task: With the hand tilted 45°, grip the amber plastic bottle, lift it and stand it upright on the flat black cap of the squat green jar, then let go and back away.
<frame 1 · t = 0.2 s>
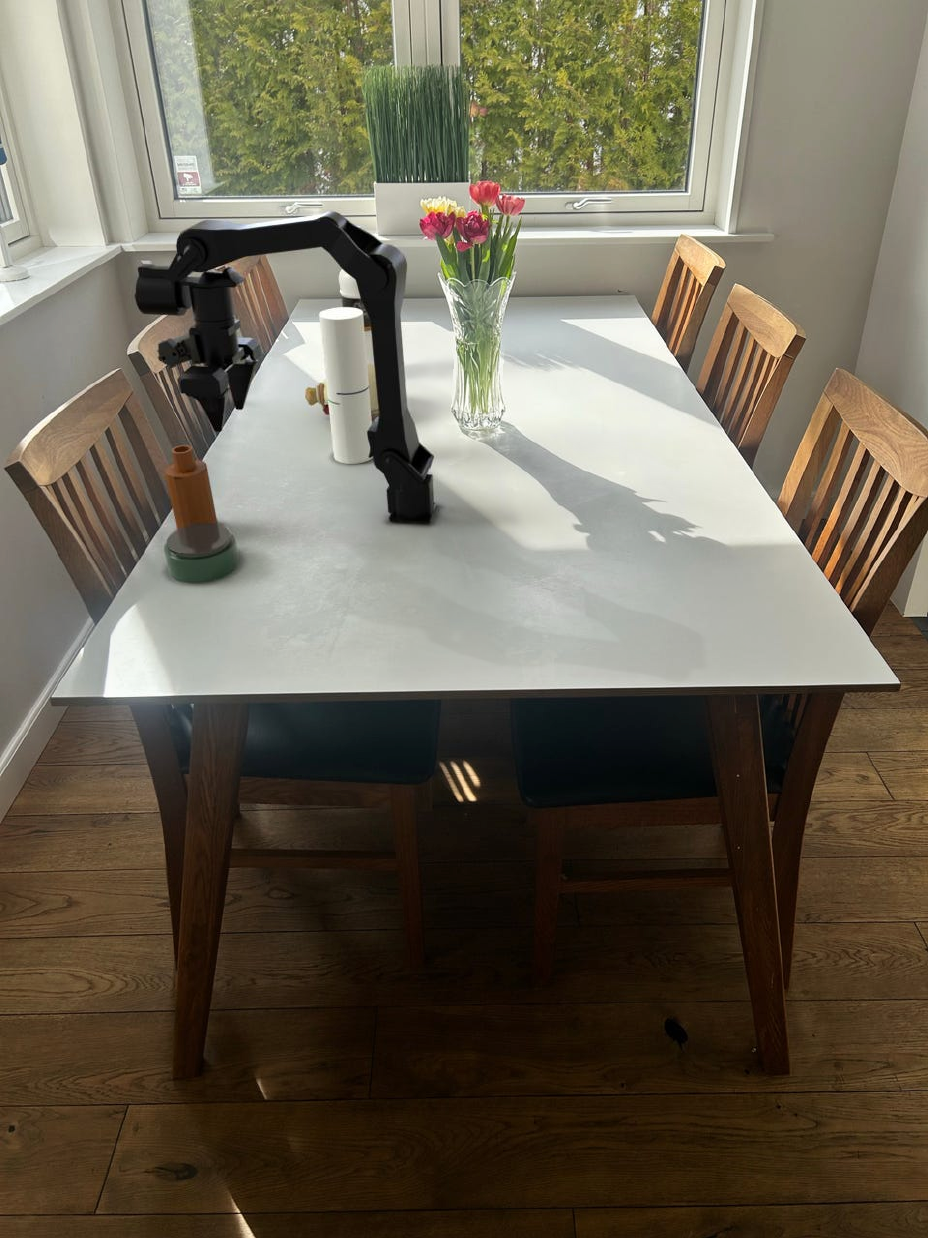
hand: (229, 420, 144), 15 cm above the table, tool pointing down, fingers open, 9 cm apart
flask: (354, 415, 184), on the table
amber bottle: (198, 530, 146), on the table
cylindrical container: (354, 456, 168), on the table
green jar: (204, 565, 137), on the table
vodka: (367, 374, 204), on the table
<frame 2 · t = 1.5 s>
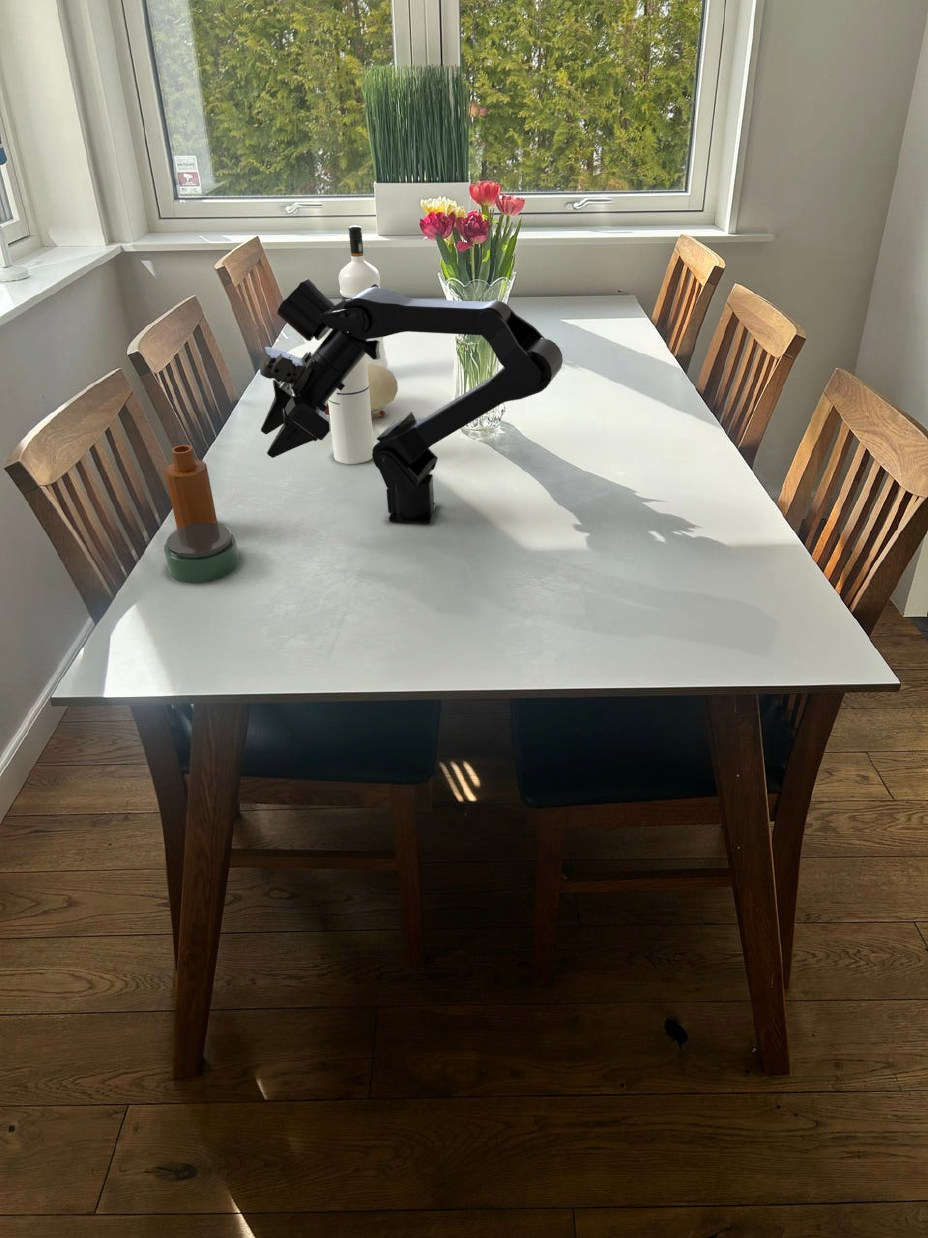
hand: (266, 443, 141), 13 cm above the table, tool tilted 45°, fingers open, 9 cm apart
nothing on the table moved.
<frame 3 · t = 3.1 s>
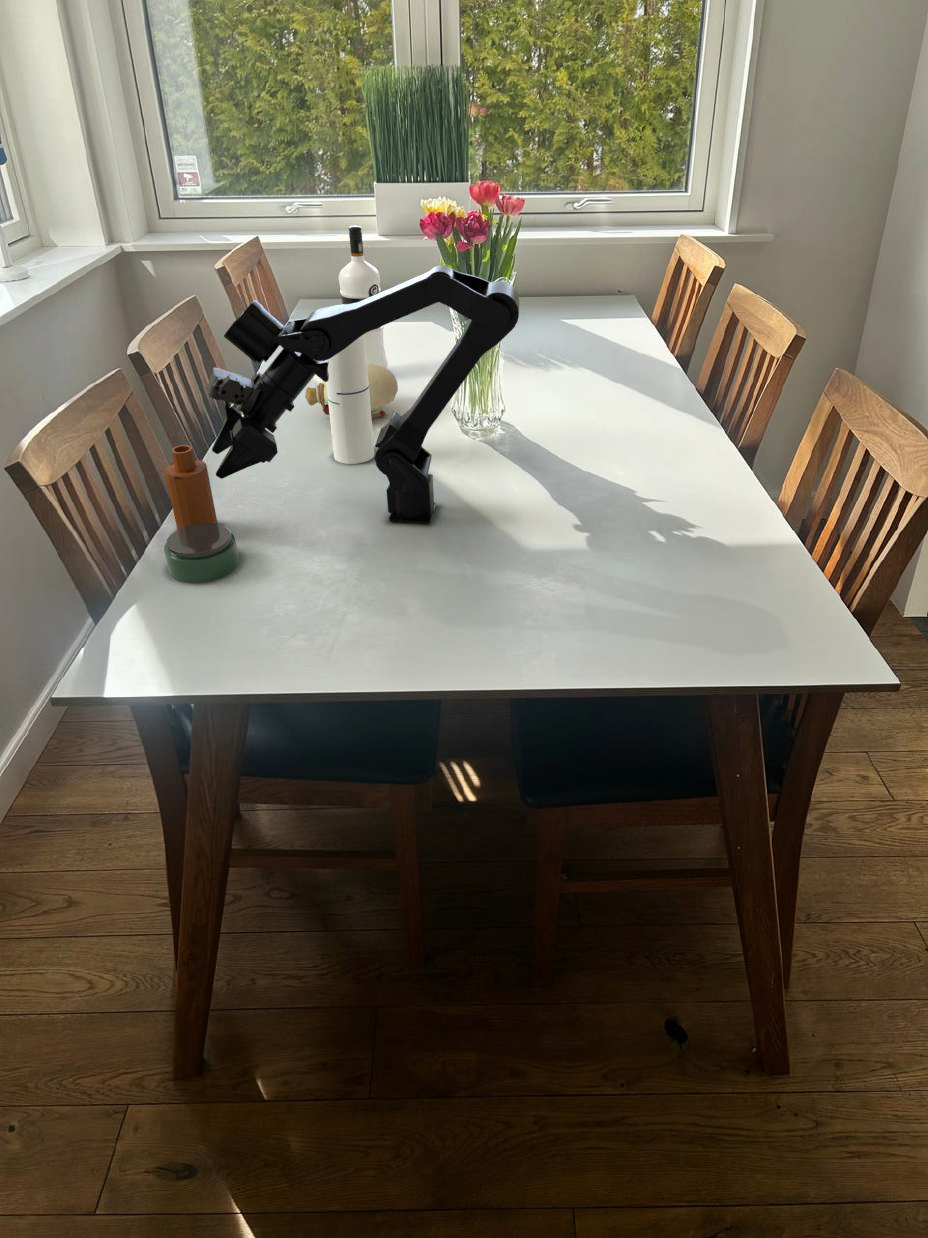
hand: (216, 464, 141), 10 cm above the table, tool tilted 45°, fingers open, 9 cm apart
nothing on the table moved.
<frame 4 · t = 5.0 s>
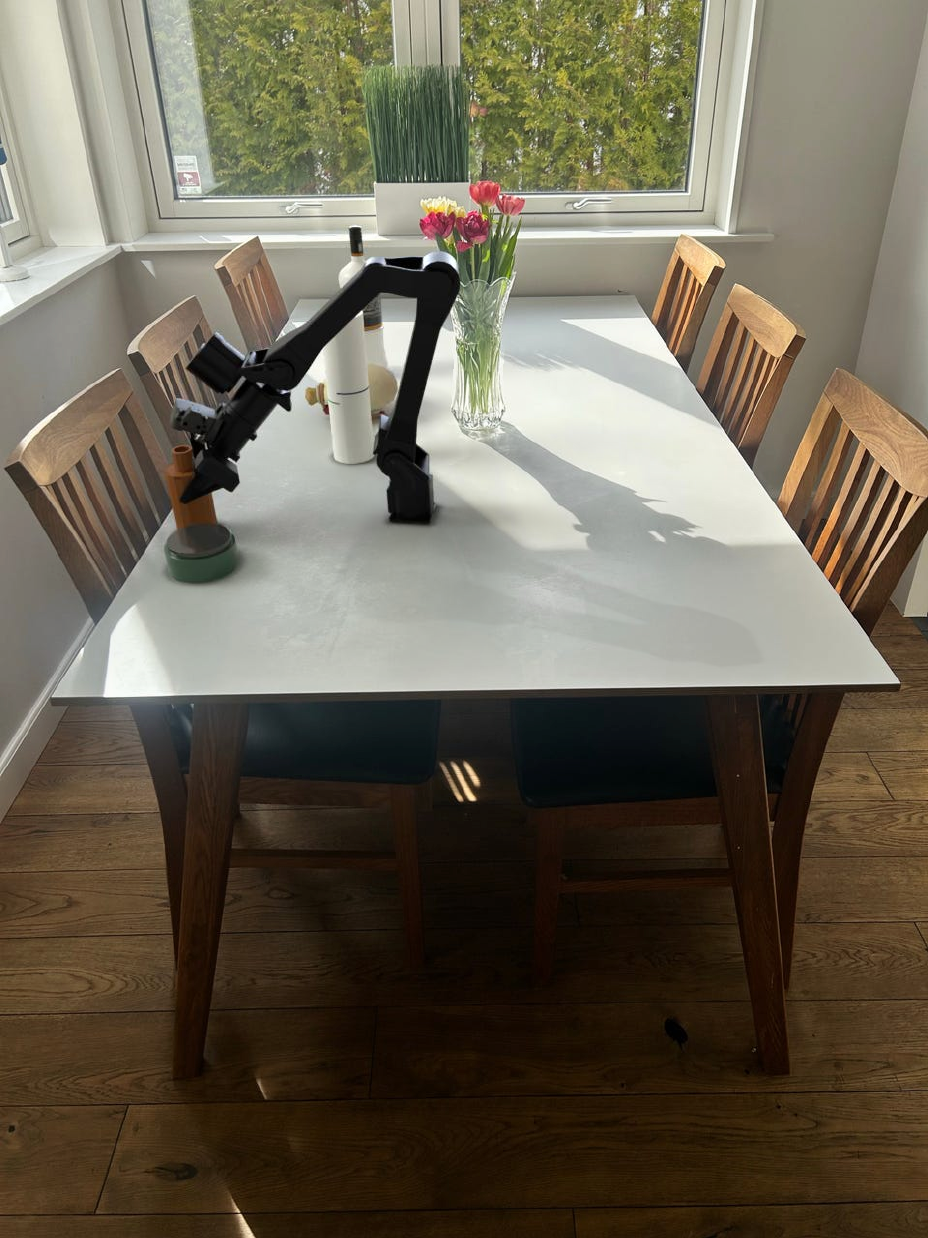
hand: (181, 492, 142), 7 cm above the table, tool tilted 45°, fingers closed on amber bottle, 6 cm apart
amber bottle: (198, 530, 146), on the table, touching gripper
everything else where it was.
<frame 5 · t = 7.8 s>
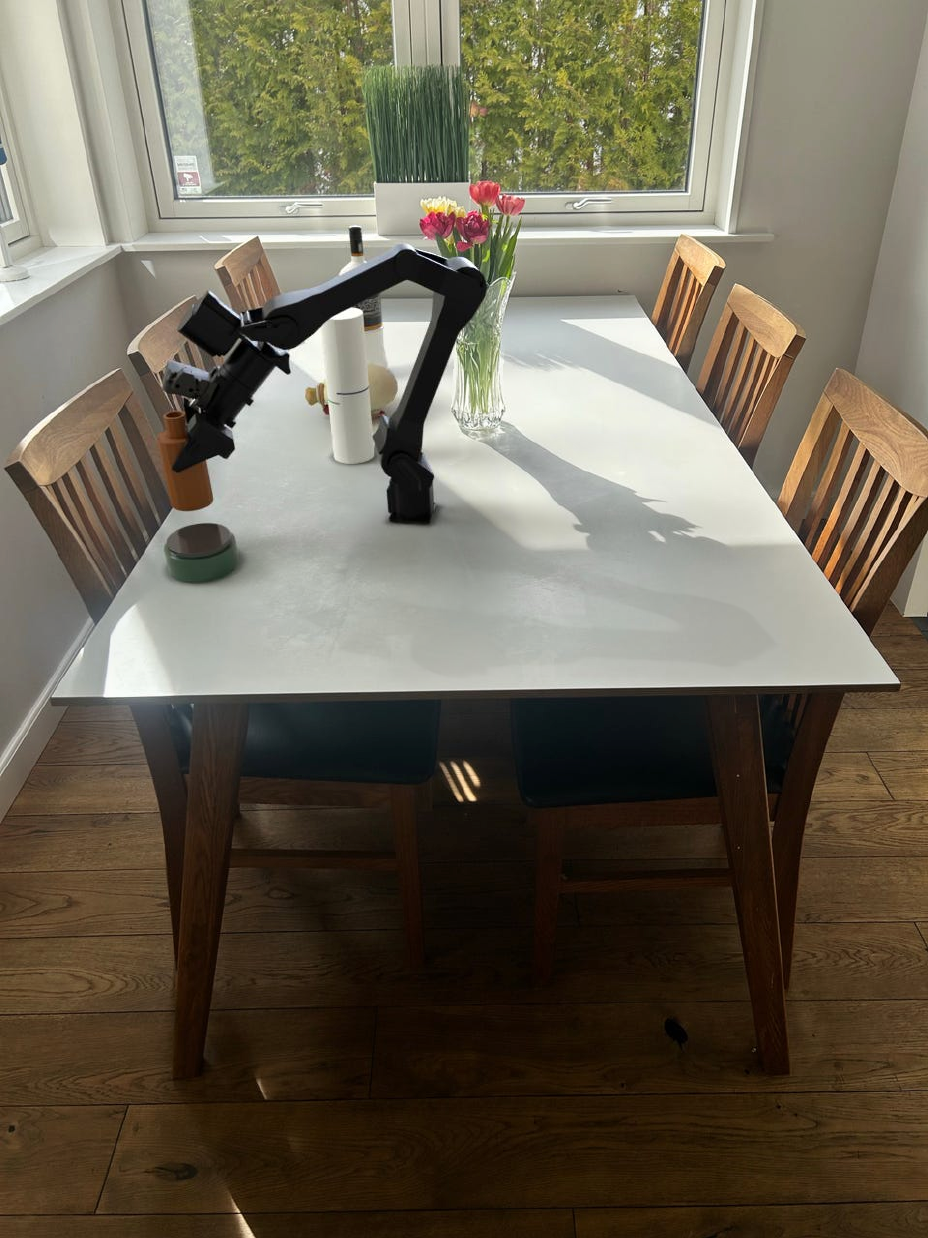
hand: (174, 461, 135), 13 cm above the table, tool tilted 45°, fingers closed on amber bottle, 6 cm apart
amber bottle: (192, 501, 139), point 7 cm above the table, touching gripper
everything else where it was.
when the fingers open (11 cm above the table, at t = 10.5 s): amber bottle stays where it is, resting on green jar.
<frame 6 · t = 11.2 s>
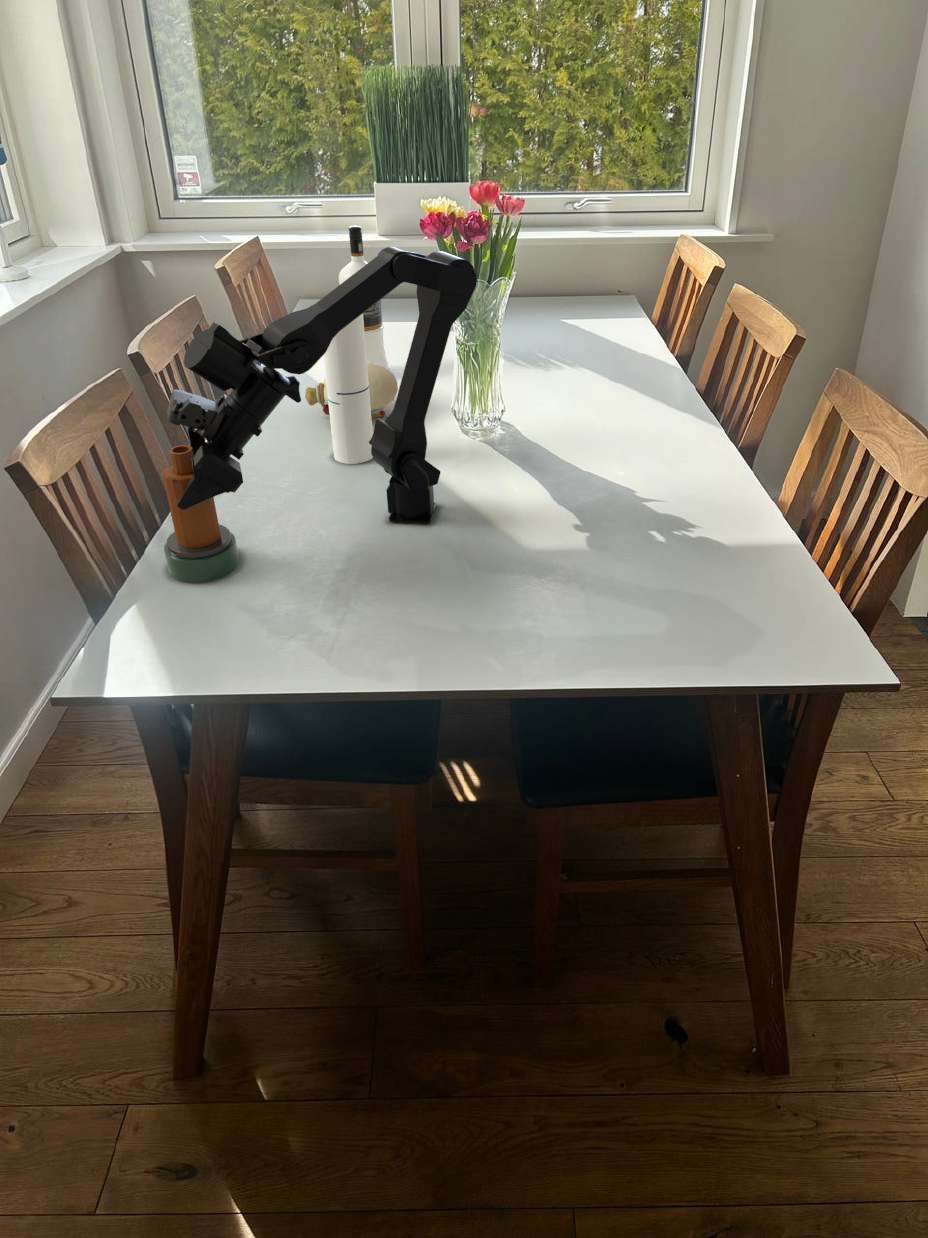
hand: (178, 493, 130), 12 cm above the table, tool tilted 45°, fingers open, 9 cm apart
amber bottle: (198, 537, 134), point 4 cm above the table, touching green jar
green jar: (204, 565, 137), on the table, touching amber bottle
everything else where it was.
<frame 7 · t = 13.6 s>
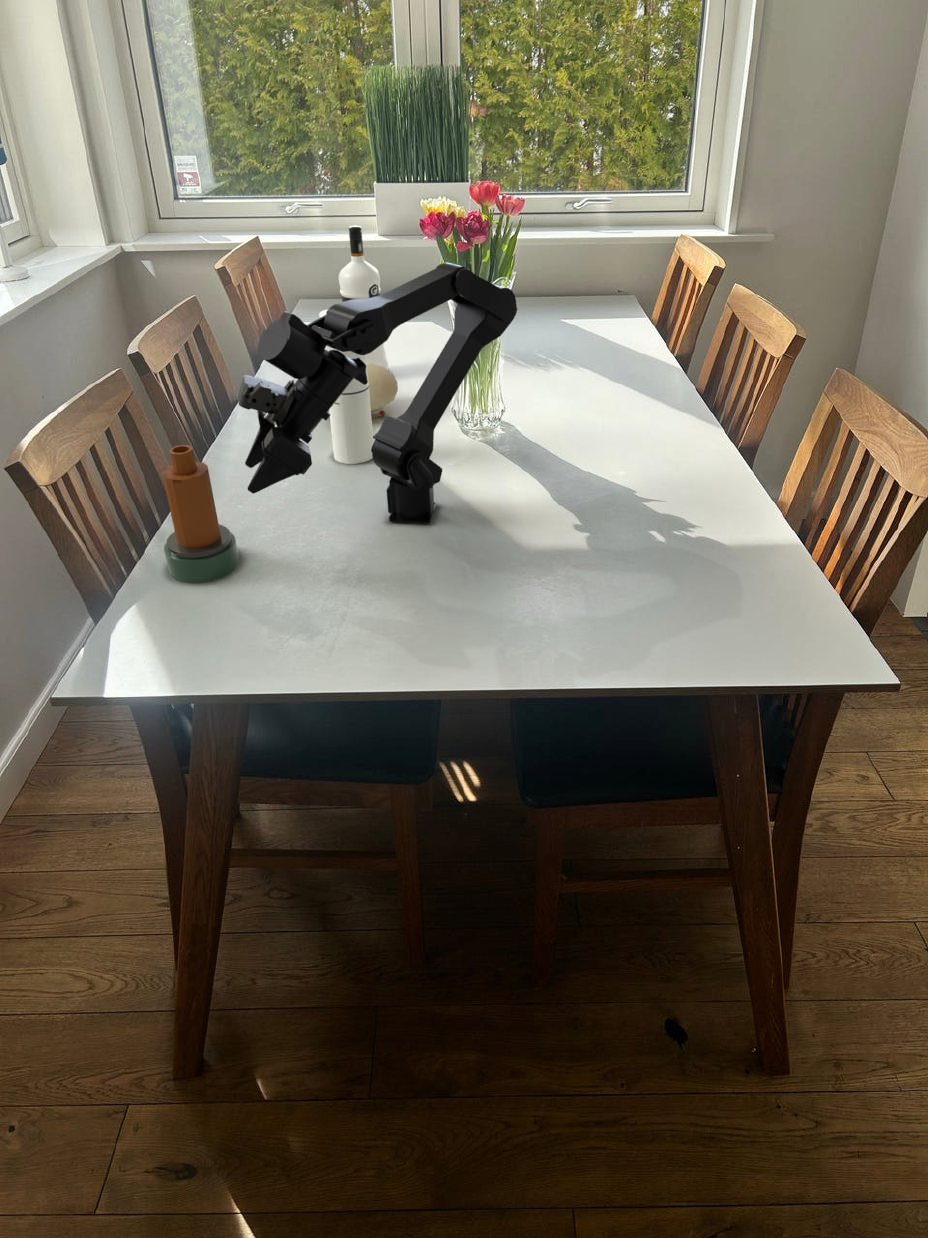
hand: (248, 478, 132), 12 cm above the table, tool tilted 45°, fingers open, 9 cm apart
nothing on the table moved.
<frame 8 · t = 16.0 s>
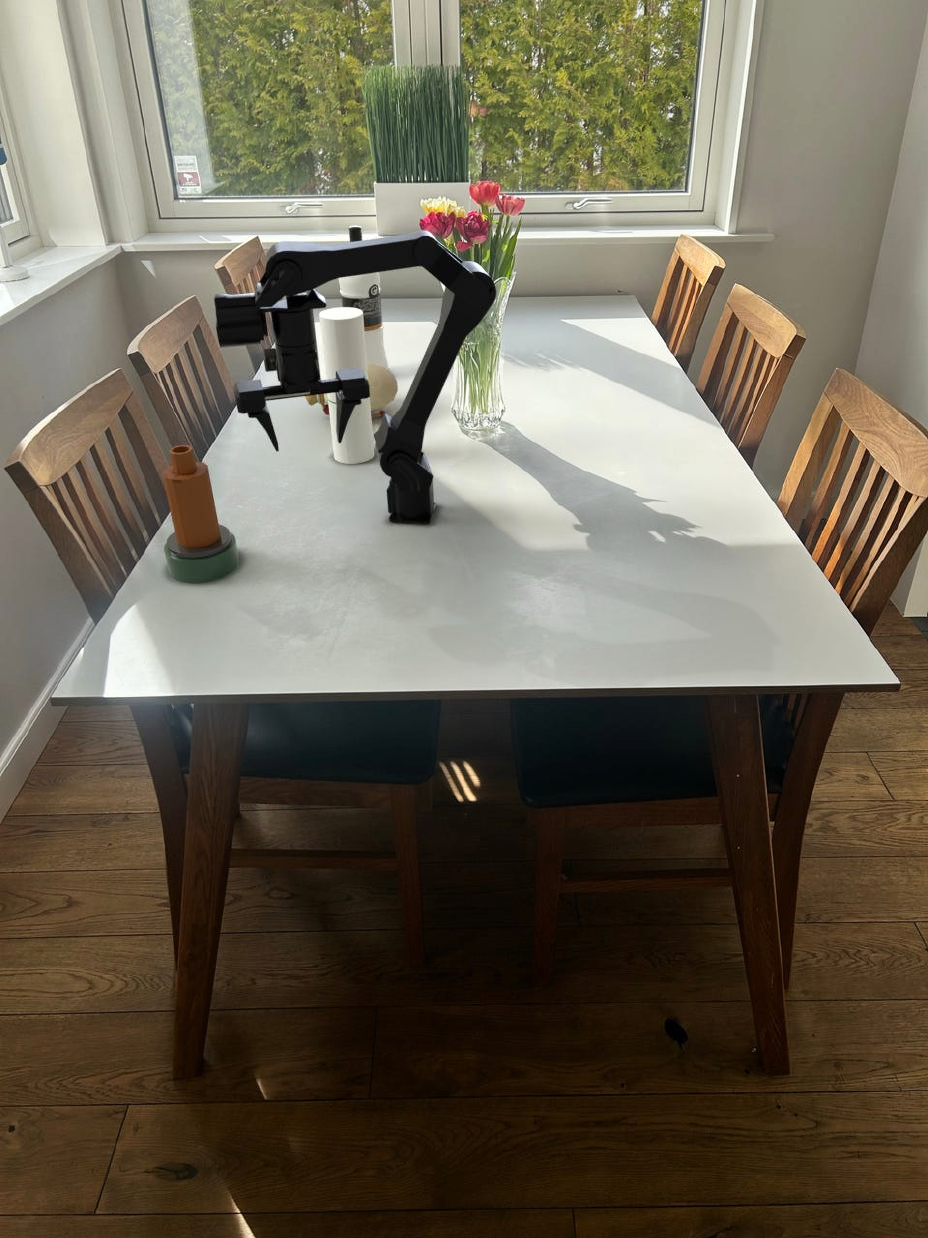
hand: (308, 446, 139), 13 cm above the table, tool pointing down, fingers open, 9 cm apart
nothing on the table moved.
at the end: amber bottle 0.0 cm off-centre on the green jar, point 4.5 cm above the green jar's base; amber bottle tilted 0°; the gripper is holding nothing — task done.
